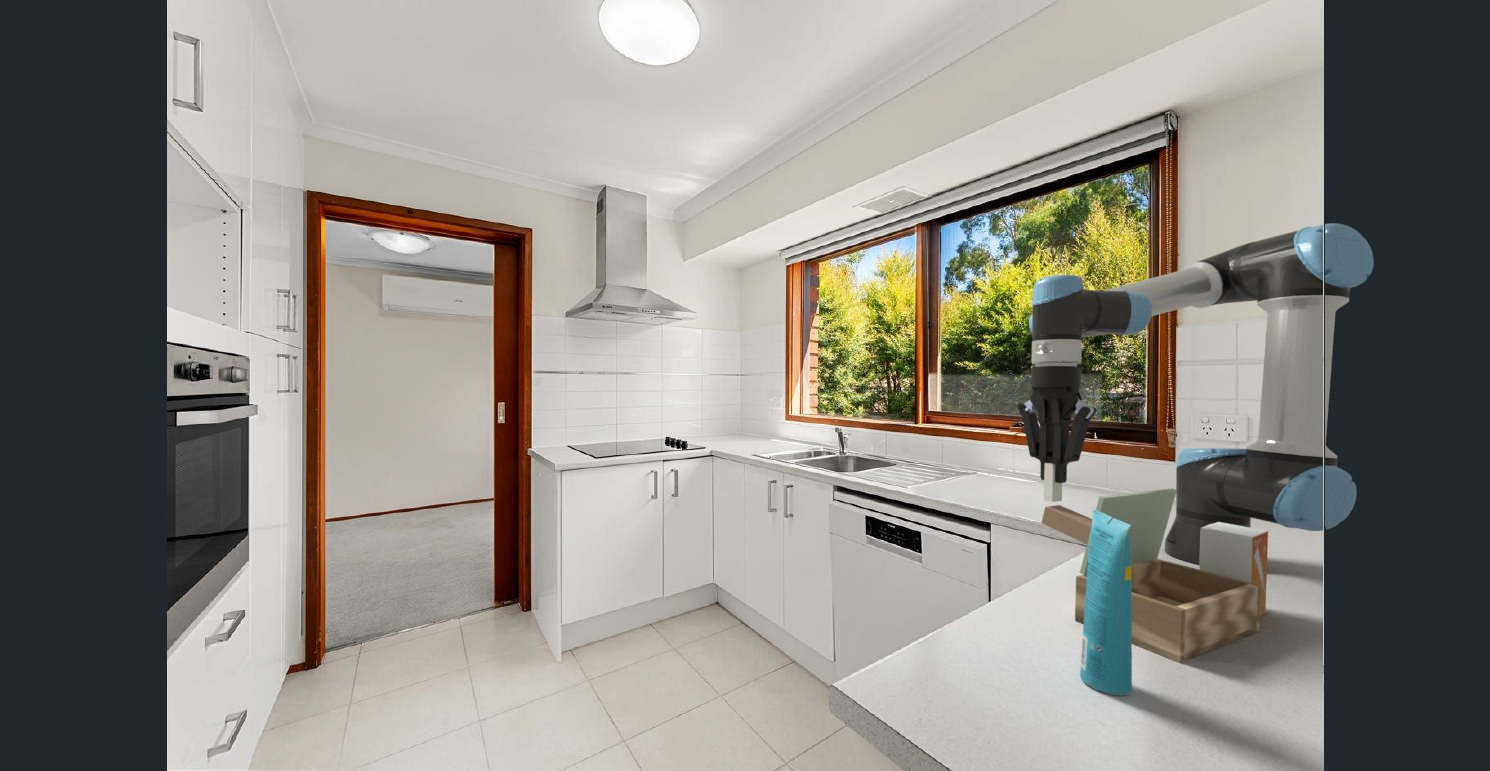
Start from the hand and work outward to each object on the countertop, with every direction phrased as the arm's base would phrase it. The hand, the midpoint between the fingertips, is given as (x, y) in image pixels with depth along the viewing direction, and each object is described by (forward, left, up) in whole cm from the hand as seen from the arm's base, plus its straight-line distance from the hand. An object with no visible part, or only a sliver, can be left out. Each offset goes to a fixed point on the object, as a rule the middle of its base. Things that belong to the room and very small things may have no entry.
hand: (1052, 500), depth 93 cm
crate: (0, +17, -15) cm, 23 cm away
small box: (-16, +19, -15) cm, 29 cm away
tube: (+25, +23, -15) cm, 37 cm away
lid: (0, +13, -2) cm, 13 cm away
